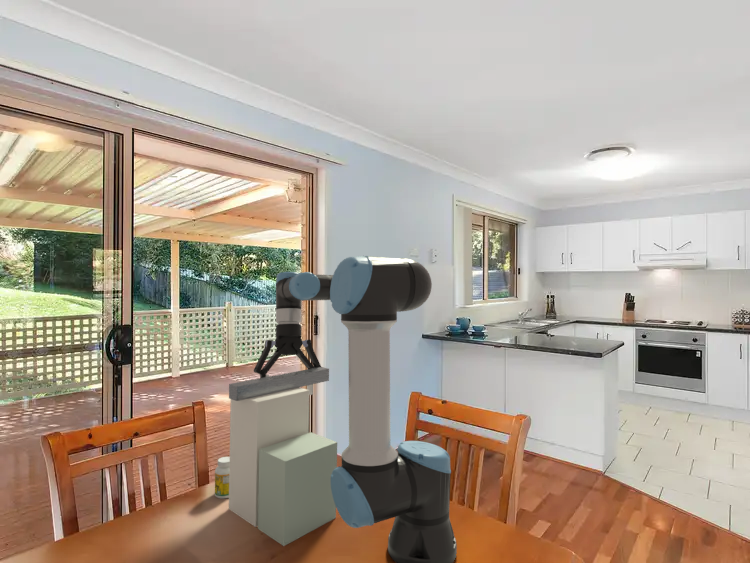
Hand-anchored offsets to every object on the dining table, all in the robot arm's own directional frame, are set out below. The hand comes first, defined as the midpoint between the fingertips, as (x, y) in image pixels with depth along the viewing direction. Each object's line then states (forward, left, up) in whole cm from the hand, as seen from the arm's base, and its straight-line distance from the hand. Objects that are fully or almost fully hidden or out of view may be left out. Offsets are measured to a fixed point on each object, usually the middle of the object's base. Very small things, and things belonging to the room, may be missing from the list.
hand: (288, 396), depth 130 cm
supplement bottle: (+1, +18, -25) cm, 31 cm away
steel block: (-10, +6, +5) cm, 12 cm away
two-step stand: (-16, +8, -25) cm, 31 cm away
